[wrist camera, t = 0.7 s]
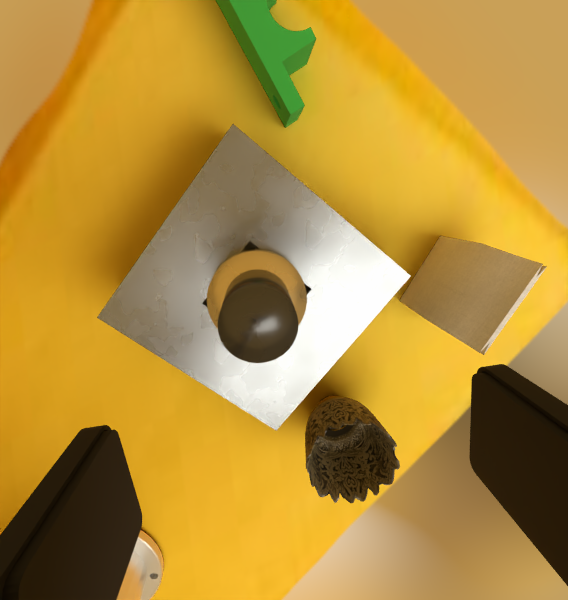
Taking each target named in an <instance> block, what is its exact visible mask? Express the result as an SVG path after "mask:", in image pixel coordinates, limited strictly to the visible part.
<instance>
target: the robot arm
mask: <svg viewBox="0 0 568 600" xmlns="http://www.w3.org/2000/svg"><path fill="white" fill-rule="evenodd" d="M470 428H471V429H470V463H471V466H472V468H473V470H474V472H475V473H476V475H477V476H478V477H479V478H480V479H481V481H482V482H483V483H484V484H485V485H486V487H487V488H488V489H489V490H490V492H491V493H492V494H493V495H494V497H495V498H496V499H497V500H498V501H499V503H500V504H501V505H502V506H503V508H504V509H505V510H506V511H507V512H508V514H509V515H510V516H511V517H512V518H513V520H514V521H515V522H516V523H517V525H518V526H519V527H520V528H521V529H522V531H523V532H524V533H525V534H526V536H527V537H528V538H529V539H530V540H531V542H532V543H533V544H534V545H535V547H536V548H537V549H538V550H539V551H540V553H541V554H542V555H543V556H544V558H545V559H546V560H547V561H548V562H549V564H550V565H551V566H552V567H553V569H554V570H555V571H556V572H557V573H558V575H559V576H560V577H561V578H562V579H563V581H564V582H565V583H566V584H567V586H568V405H567V404H565V403H563V402H562V401H560V400H559V399H557V398H556V397H554V396H553V395H551V394H549V393H548V392H546V391H545V390H543V389H542V388H540V387H539V386H537V385H536V384H534V383H532V382H531V381H529V380H528V379H526V378H524V377H523V376H521V375H520V374H518V373H517V372H515V371H514V370H512V369H511V368H509V367H508V366H506V365H504V364H499V365H493V366H486V367H481V368H479V369H478V371H477V374H474V375H473V377H472V392H471V427H470ZM141 526H142V512H141V509H140V505H139V502H138V499H137V495H136V492H135V488H134V485H133V482H132V478H131V475H130V472H129V468H128V465H127V461H126V458H125V455H124V451H123V448H122V444H121V441H120V438H119V435H118V432H117V431H116V430H111V428H110V427H109V426H107V425H103V426H97V427H90V428H84V429H82V430H80V431H79V433H78V434H77V435H76V437H75V438H74V439H73V440H72V442H71V443H70V444H69V446H68V447H67V448H66V450H65V451H64V452H63V454H62V455H61V456H60V458H59V459H58V460H57V461H56V463H55V464H54V465H53V467H52V468H51V469H50V471H49V472H48V473H47V475H46V476H45V477H44V479H43V480H42V481H41V482H40V484H39V485H38V486H37V488H36V489H35V490H34V492H33V493H32V494H31V496H30V497H29V498H28V500H27V501H26V502H25V503H24V505H23V506H22V507H21V509H20V510H19V511H18V513H17V514H16V515H15V517H14V518H13V519H12V521H11V522H10V523H9V524H8V526H7V527H6V528H5V530H4V531H3V532H2V534H1V535H0V600H150V599H151V598H152V597H153V595H154V594H155V592H156V591H157V590H158V587H159V585H160V582H161V579H162V574H163V570H164V561H163V557H162V553H161V551H160V549H159V547H158V545H157V544H156V543H155V542H154V541H153V539H152V538H151V537H150V536H148V535H147V534H146V533H145V532H143V531H142V530H141Z"/></svg>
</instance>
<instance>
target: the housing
mask: <svg viewBox="0 0 568 600" xmlns="http://www.w3.org/2000/svg"><path fill="white" fill-rule="evenodd" d="M250 249H264V250H269V251H272V252H275V253H277V254H279V255H281V256H283V257H284V258H286V259H287V260H288V261H290V262H291V263H292V264H293V266H294V267H295V268H296V269H297V271H298V272H299V274H300V276H301V277H302V280H303V282H304V285H305V288H306V293H307V306H306V311H305V314H304V317H303V319H302V321H301V323H300V325H299V326H298V333H297V336H296V339H295V341H294V343H293V345H292V346H291V347H290V349H289V350H288V351H287V352H286V353H284V354H283V355H282V356H280V357H279V358H277V359H275V360H272V361H269V362H265V363H251V362H246V361H243V360H241V359H238V358H237V357H235V356H233V355H232V354H231V353H230V352H229V351H228V350H227V349H226V348H225V347H224V345H223V344H222V342H221V340H220V337H219V334H218V329H217V328H216V326H215V325H214V323H213V321H212V320H211V317H210V315H209V311H208V307H207V292H208V287H209V284H210V282H211V279H212V277H213V275H214V274H215V272H216V270H217V269H218V268H219V266H220V265H221V264H222V263H223V262H224V261H225V260H226V259H228V258H229V257H231V256H232V255H234V254H236V253H238V252H241V251H244V250H250ZM409 278H410V275H409V274H408V273H407V272H406V271H405V270H403V269H402V268H401V267H400V266H399V265H398V264H396V263H395V262H394V261H393V260H392V259H391V258H389V257H388V256H387V255H386V254H385V253H384V252H382V251H381V250H380V249H379V248H378V247H377V246H375V245H374V244H373V243H372V242H371V241H369V240H368V239H367V238H366V237H365V236H364V235H362V234H361V233H360V232H359V231H358V230H357V229H355V228H354V227H353V226H352V225H351V224H350V223H348V222H347V221H346V220H345V219H344V218H343V217H341V216H340V215H339V214H338V213H337V212H336V211H334V210H333V209H332V208H331V207H330V206H329V205H327V204H326V203H325V202H324V201H323V200H322V199H320V198H319V197H318V196H317V195H316V194H315V193H313V192H312V191H311V190H310V189H309V188H308V187H306V186H305V185H304V184H303V183H302V182H301V181H299V180H298V179H297V178H296V177H295V176H294V175H292V174H291V173H290V172H289V171H288V170H286V169H285V168H284V167H283V166H282V165H281V164H279V163H278V162H277V161H276V160H275V159H274V158H272V157H271V156H270V155H269V154H268V153H267V152H265V151H264V150H263V149H262V148H261V147H260V146H258V145H257V144H256V143H255V142H254V141H253V140H251V139H250V138H249V137H248V136H247V135H246V134H244V133H243V132H242V131H241V130H240V129H239V128H237V127H236V126H235V125H234V124H233V125H232V126H231V127H230V129H229V130H228V132H227V133H226V134H225V136H224V137H223V139H222V140H221V142H220V143H219V144H218V146H217V147H216V149H215V150H214V152H213V153H212V154H211V156H210V157H209V159H208V160H207V162H206V163H205V164H204V166H203V167H202V169H201V170H200V172H199V173H198V174H197V176H196V177H195V179H194V180H193V182H192V183H191V184H190V186H189V187H188V189H187V190H186V192H185V193H184V194H183V196H182V197H181V199H180V200H179V201H178V203H177V204H176V206H175V207H174V209H173V210H172V211H171V213H170V214H169V216H168V217H167V219H166V220H165V221H164V223H163V224H162V226H161V227H160V229H159V230H158V231H157V233H156V234H155V236H154V237H153V239H152V240H151V241H150V243H149V244H148V246H147V247H146V249H145V250H144V251H143V253H142V254H141V256H140V257H139V258H138V260H137V261H136V263H135V264H134V266H133V267H132V268H131V270H130V271H129V273H128V274H127V276H126V277H125V278H124V280H123V281H122V283H121V284H120V286H119V287H118V288H117V290H116V291H115V293H114V294H113V296H112V297H111V298H110V300H109V301H108V303H107V304H106V306H105V307H104V308H103V310H102V311H101V313H100V314H99V316H98V317H97V318H99V319H100V320H102V321H104V322H105V323H107V324H108V325H110V326H111V327H113V328H115V329H116V330H118V331H119V332H121V333H123V334H124V335H126V336H127V337H129V338H130V339H132V340H134V341H135V342H137V343H138V344H140V345H142V346H143V347H145V348H146V349H148V350H149V351H151V352H153V353H154V354H156V355H157V356H159V357H161V358H162V359H164V360H165V361H167V362H168V363H170V364H172V365H173V366H175V367H176V368H178V369H180V370H181V371H183V372H184V373H186V374H187V375H189V376H191V377H192V378H194V379H195V380H197V381H199V382H200V383H202V384H203V385H205V386H206V387H208V388H210V389H211V390H213V391H214V392H216V393H218V394H219V395H221V396H222V397H224V398H225V399H227V400H229V401H230V402H232V403H233V404H235V405H237V406H238V407H240V408H241V409H243V410H244V411H246V412H248V413H249V414H251V415H252V416H254V417H256V418H257V419H259V420H260V421H262V422H263V423H265V424H267V425H268V426H270V427H271V428H273V429H275V430H277V429H278V428H279V427H280V426H281V425H282V423H283V422H284V421H285V420H286V419H287V418H288V417H289V415H290V414H291V413H292V412H293V411H294V410H295V409H296V407H297V406H298V405H299V404H300V403H301V402H302V401H303V399H304V398H305V397H306V396H307V395H308V394H309V392H310V391H311V390H312V389H313V388H314V387H315V386H316V384H317V383H318V382H319V381H320V380H321V379H322V378H323V376H324V375H325V374H326V373H327V372H328V371H329V369H330V368H331V367H332V366H333V365H334V364H335V363H336V361H337V360H338V359H339V358H340V357H341V356H342V355H343V353H344V352H345V351H346V350H347V349H348V348H349V347H350V345H351V344H352V343H353V342H354V341H355V340H356V338H357V337H358V336H359V335H360V334H361V333H362V332H363V330H364V329H365V328H366V327H367V326H368V325H369V324H370V322H371V321H372V320H373V319H374V318H375V317H376V315H377V314H378V313H379V312H380V311H381V310H382V309H383V307H384V306H385V305H386V304H387V303H388V302H389V301H390V299H391V298H392V297H393V296H394V295H395V294H396V293H397V291H398V290H399V289H400V288H401V287H402V286H403V284H404V283H405V282H406V281H407V280H408V279H409Z"/></svg>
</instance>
